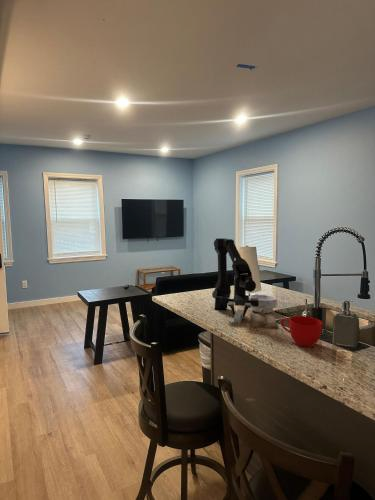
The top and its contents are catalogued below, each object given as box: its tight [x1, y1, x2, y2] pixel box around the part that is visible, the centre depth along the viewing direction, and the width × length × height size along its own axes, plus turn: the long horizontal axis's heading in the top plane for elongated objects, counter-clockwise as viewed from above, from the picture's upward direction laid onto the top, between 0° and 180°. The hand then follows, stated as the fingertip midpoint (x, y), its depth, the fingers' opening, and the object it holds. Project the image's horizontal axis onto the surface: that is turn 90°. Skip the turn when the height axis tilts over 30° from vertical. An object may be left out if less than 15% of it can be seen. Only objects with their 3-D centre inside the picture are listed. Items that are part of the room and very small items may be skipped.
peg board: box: [249, 309, 279, 330], centre depth 168 cm, size 12×19×4 cm, turn 172°
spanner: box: [233, 309, 244, 325], centre depth 170 cm, size 3×11×4 cm, turn 163°
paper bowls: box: [248, 294, 278, 314], centre depth 188 cm, size 15×15×8 cm
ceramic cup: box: [280, 315, 324, 348], centre depth 140 cm, size 13×17×10 cm
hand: (238, 318), depth 170 cm, fingers open, 4 cm apart
